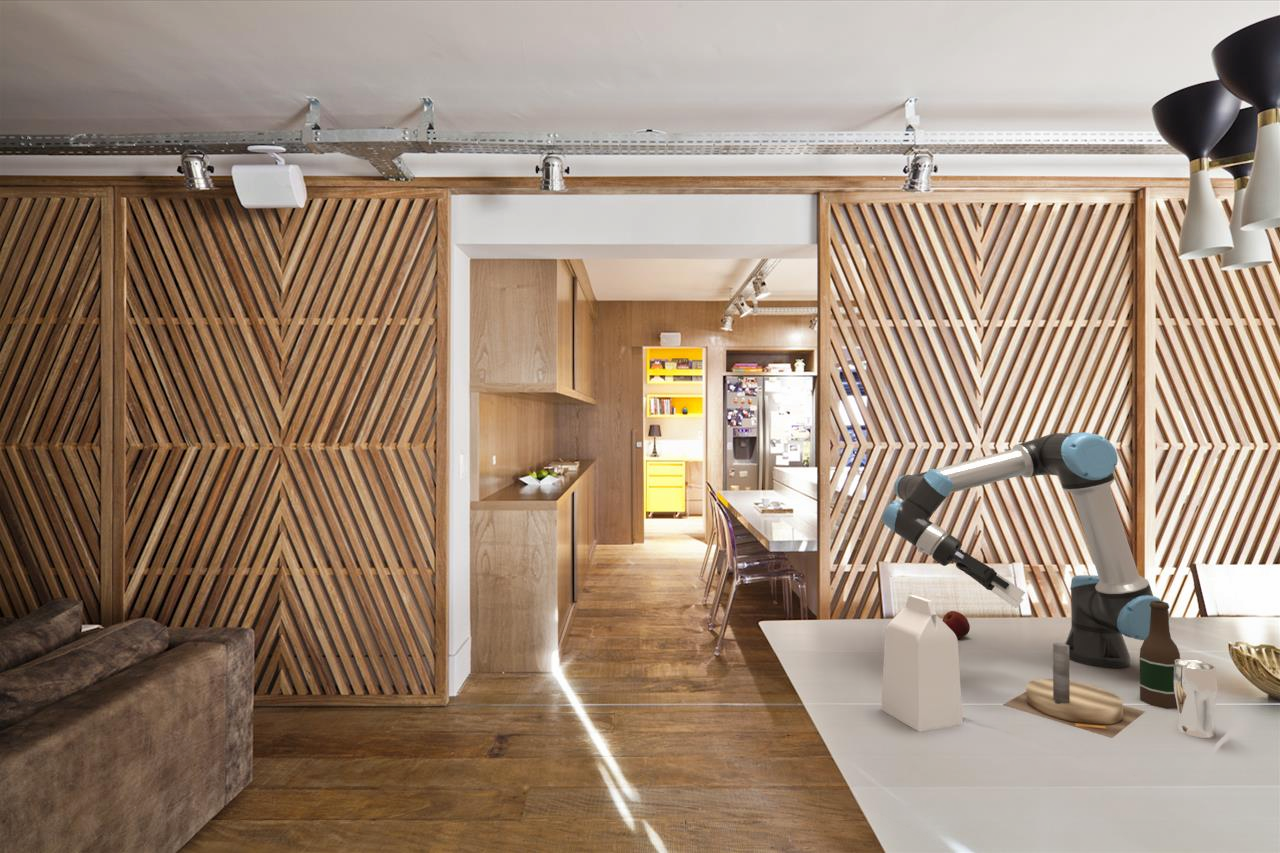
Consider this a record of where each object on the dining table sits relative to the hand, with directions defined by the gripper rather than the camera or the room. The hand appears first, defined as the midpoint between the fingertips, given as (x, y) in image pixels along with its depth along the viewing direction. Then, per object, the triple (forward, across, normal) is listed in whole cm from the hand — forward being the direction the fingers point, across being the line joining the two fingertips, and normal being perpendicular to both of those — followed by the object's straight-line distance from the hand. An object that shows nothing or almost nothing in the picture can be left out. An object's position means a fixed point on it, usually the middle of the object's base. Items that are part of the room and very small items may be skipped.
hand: (1020, 600), depth 157 cm
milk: (0, +14, -35) cm, 38 cm away
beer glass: (+39, -1, -3) cm, 39 cm away
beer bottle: (+34, -16, -1) cm, 37 cm away
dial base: (+21, -3, -14) cm, 25 cm away
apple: (-10, -51, -15) cm, 54 cm away
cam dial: (+20, -3, -13) cm, 24 cm away
